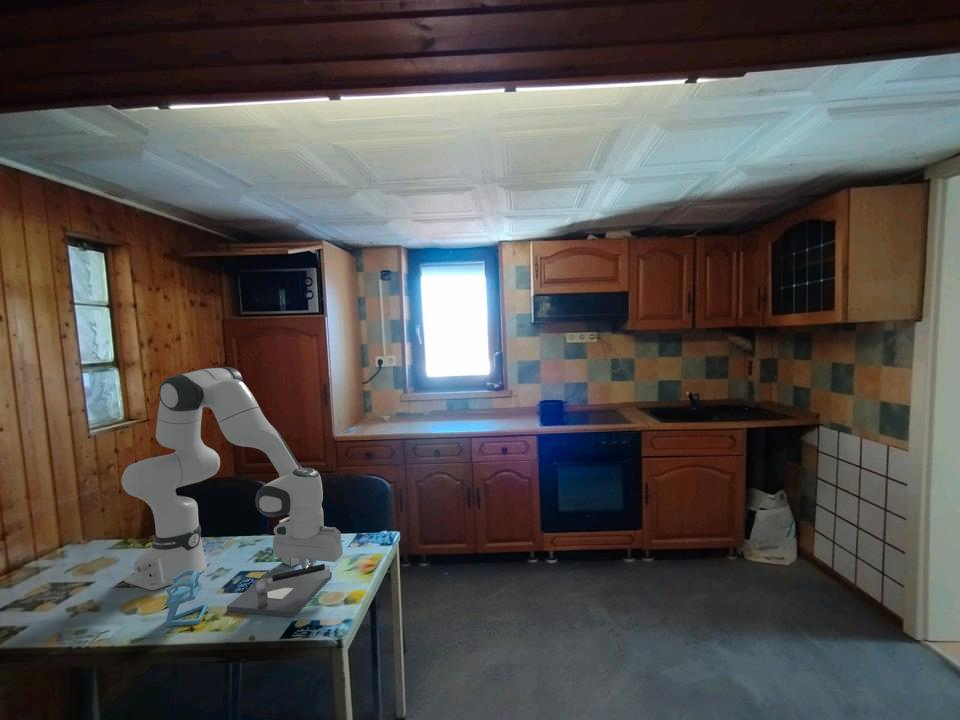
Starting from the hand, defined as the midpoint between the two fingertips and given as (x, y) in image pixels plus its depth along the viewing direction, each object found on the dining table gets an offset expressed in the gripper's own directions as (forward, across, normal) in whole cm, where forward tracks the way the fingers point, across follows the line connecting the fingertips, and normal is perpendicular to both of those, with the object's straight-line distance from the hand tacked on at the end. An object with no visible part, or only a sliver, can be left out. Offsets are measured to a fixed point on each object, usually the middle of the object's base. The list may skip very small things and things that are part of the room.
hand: (308, 572), depth 116 cm
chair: (+7, +27, +14) cm, 31 cm away
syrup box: (+7, +16, -16) cm, 24 cm away
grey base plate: (+6, +8, 0) cm, 10 cm away
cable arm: (+1, +2, +4) cm, 5 cm away
